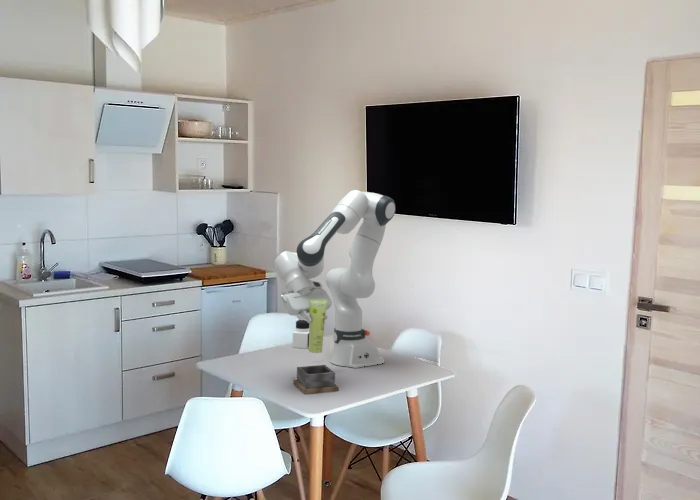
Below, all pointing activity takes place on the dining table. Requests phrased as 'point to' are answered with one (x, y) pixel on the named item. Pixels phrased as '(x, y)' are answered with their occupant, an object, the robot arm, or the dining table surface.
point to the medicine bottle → (301, 335)
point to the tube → (317, 324)
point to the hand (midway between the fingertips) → (318, 320)
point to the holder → (315, 379)
